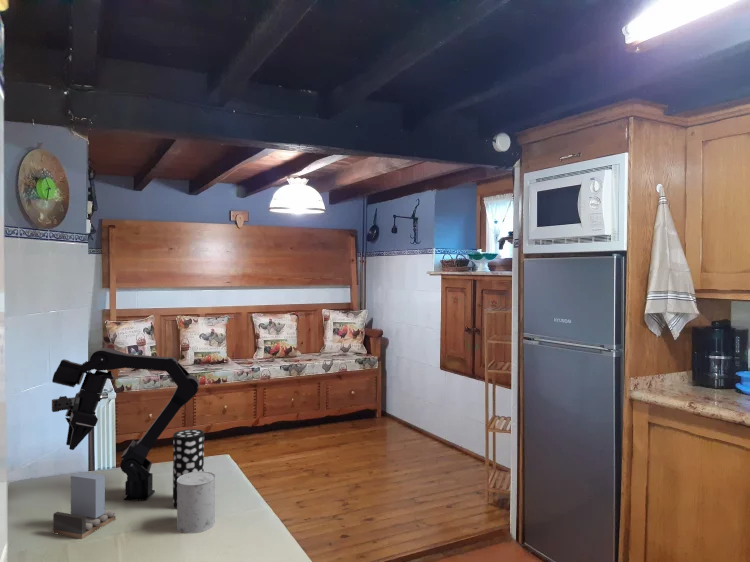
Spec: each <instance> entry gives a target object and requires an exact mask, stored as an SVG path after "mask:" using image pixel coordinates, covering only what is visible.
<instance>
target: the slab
mask: <svg viewBox="0 0 750 562" xmlns="http://www.w3.org/2000/svg"><path fill="white" fill-rule="evenodd" d="M105 479H106V476H105V474H99V473H98V474H97V473H90V472H83V471H78V472H77V473H75V474H71V475H70V514H74V515H80V516H86V517H90V518H97V517H99V516H101V515H103V514H105V510H106V507H105V506H106V504H105V503H106V501H105V500H106V492H105V490H106V487H105V486H106V480H105Z"/></svg>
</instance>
